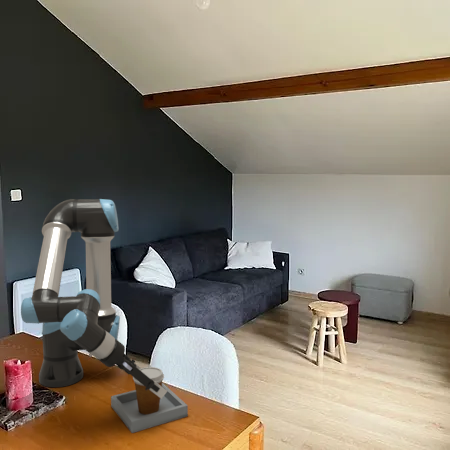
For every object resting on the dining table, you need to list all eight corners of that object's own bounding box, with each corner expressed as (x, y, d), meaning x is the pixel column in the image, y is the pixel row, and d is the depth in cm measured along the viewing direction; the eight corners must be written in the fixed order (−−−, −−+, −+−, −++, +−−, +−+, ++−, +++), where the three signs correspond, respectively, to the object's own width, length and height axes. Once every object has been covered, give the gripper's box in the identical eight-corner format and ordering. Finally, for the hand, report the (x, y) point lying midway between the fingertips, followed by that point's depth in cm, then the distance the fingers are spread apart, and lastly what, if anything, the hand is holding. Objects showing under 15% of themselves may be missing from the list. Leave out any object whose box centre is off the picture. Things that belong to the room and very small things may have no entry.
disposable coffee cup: (158, 419, 141) (158, 380, 140) (128, 415, 143) (128, 377, 142) (168, 403, 150) (168, 367, 149) (139, 400, 152) (139, 365, 151)
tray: (111, 406, 150) (111, 396, 150) (162, 392, 159) (162, 383, 159) (131, 433, 135) (131, 421, 134) (187, 416, 144) (187, 405, 144)
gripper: (85, 346, 147) (132, 380, 157) (112, 375, 126) (164, 413, 136) (102, 326, 149) (146, 362, 159) (131, 352, 128) (180, 391, 138)
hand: (154, 385), depth 147 cm, fingers open, 13 cm apart
